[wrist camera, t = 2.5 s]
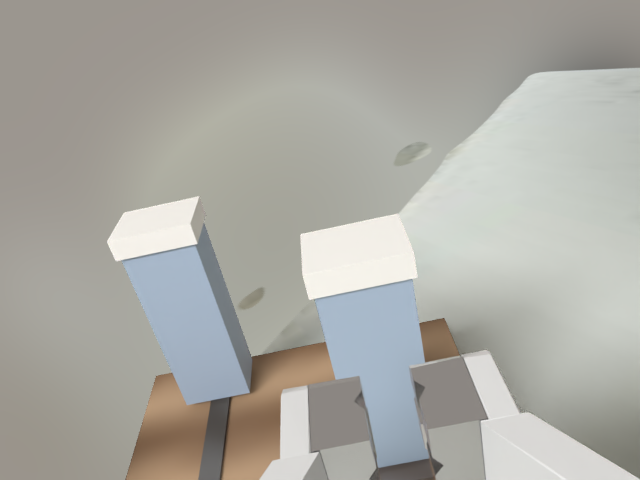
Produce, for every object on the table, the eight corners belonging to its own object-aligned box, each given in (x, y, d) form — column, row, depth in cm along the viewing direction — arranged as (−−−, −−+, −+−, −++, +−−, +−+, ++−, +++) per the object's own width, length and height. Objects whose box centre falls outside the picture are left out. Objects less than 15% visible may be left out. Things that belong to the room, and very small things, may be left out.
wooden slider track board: (510, 520, 28) (506, 466, 26) (135, 588, 29) (104, 541, 27) (448, 359, 39) (442, 312, 37) (176, 413, 40) (156, 370, 38)
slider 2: (444, 459, 27) (413, 251, 21) (356, 475, 27) (302, 275, 22) (428, 407, 30) (398, 213, 24) (349, 422, 30) (300, 234, 25)
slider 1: (252, 394, 34) (190, 223, 28) (183, 408, 34) (107, 241, 28) (255, 357, 37) (199, 196, 31) (191, 370, 37) (124, 212, 31)
